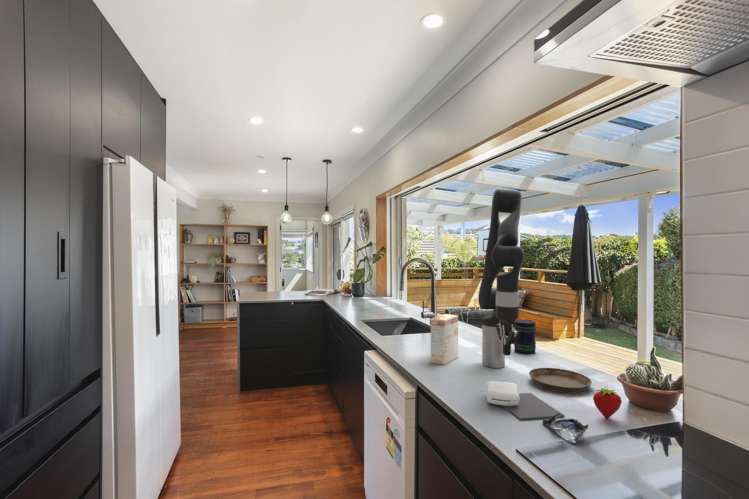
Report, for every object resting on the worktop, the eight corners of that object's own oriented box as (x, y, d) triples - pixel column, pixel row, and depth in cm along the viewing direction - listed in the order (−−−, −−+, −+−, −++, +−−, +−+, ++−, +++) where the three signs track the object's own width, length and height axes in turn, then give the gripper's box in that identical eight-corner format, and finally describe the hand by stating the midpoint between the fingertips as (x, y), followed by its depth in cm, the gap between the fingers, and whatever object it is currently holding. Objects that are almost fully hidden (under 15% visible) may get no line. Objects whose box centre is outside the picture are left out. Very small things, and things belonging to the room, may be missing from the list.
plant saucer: (605, 393, 132) (605, 383, 132) (553, 398, 127) (553, 388, 127) (564, 374, 152) (564, 366, 152) (517, 378, 147) (517, 369, 147)
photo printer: (518, 382, 127) (520, 395, 115) (518, 395, 127) (520, 410, 115) (486, 379, 130) (485, 391, 119) (486, 391, 130) (484, 405, 119)
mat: (491, 396, 127) (491, 395, 127) (530, 394, 130) (530, 392, 130) (520, 420, 110) (520, 418, 110) (564, 417, 112) (564, 415, 112)
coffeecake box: (444, 354, 179) (444, 313, 180) (458, 357, 175) (458, 315, 175) (429, 362, 167) (429, 318, 167) (444, 365, 163) (444, 319, 163)
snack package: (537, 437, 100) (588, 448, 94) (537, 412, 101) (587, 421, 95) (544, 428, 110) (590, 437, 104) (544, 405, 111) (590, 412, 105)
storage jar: (516, 354, 181) (516, 322, 181) (512, 349, 190) (512, 319, 190) (538, 355, 179) (538, 323, 179) (533, 349, 189) (533, 319, 189)
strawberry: (626, 423, 108) (626, 387, 108) (599, 422, 108) (599, 387, 108) (614, 414, 114) (614, 380, 114) (588, 413, 114) (588, 380, 114)
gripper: (527, 307, 124) (527, 360, 124) (508, 301, 137) (507, 349, 137) (505, 307, 123) (505, 361, 123) (488, 301, 136) (488, 349, 136)
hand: (506, 354), depth 130 cm, fingers closed
